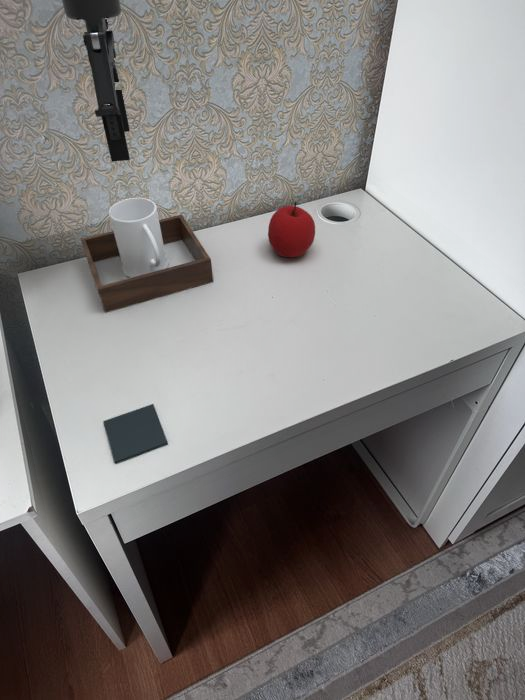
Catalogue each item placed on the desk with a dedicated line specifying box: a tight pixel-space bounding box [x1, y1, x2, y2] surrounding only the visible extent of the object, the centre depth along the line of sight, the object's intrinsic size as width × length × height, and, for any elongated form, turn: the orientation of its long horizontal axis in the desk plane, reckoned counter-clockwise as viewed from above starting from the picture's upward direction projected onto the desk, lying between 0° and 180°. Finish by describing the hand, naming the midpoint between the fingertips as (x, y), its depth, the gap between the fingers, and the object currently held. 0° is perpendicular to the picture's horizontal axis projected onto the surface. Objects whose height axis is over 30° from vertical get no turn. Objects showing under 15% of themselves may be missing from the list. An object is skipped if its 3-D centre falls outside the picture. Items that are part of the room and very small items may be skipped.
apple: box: [267, 201, 316, 258], centre depth 90 cm, size 9×9×10 cm
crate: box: [79, 214, 214, 313], centre depth 88 cm, size 16×20×5 cm
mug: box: [108, 197, 169, 278], centre depth 85 cm, size 12×8×12 cm
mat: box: [102, 403, 169, 465], centre depth 64 cm, size 7×7×1 cm
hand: (121, 145), depth 78 cm, fingers open, 13 cm apart
